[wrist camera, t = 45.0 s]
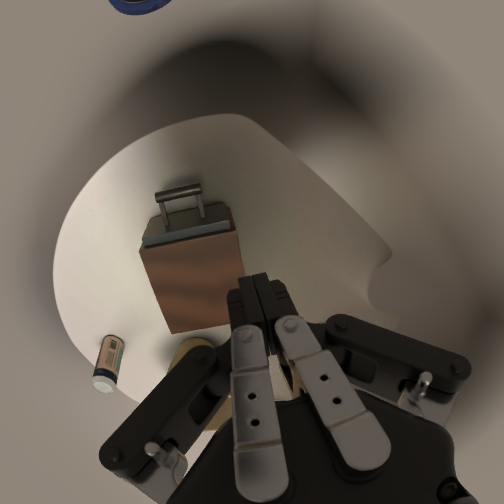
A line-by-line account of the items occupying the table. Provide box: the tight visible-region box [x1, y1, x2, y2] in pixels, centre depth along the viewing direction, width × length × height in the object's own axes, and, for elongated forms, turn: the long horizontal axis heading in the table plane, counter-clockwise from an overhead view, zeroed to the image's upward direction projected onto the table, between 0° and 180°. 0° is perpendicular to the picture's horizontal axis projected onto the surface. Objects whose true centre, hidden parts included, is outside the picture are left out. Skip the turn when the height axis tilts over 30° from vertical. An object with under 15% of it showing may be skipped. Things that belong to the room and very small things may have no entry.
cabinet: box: [139, 207, 245, 334], centre depth 42 cm, size 15×13×9 cm
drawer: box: [142, 183, 231, 247], centre depth 40 cm, size 18×11×7 cm, turn 8°
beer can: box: [92, 336, 124, 394], centre depth 46 cm, size 5×5×12 cm
